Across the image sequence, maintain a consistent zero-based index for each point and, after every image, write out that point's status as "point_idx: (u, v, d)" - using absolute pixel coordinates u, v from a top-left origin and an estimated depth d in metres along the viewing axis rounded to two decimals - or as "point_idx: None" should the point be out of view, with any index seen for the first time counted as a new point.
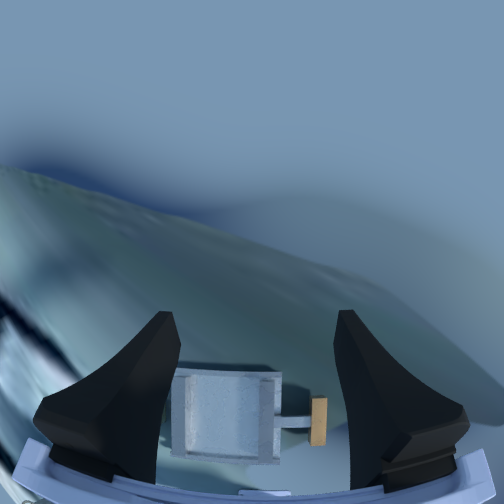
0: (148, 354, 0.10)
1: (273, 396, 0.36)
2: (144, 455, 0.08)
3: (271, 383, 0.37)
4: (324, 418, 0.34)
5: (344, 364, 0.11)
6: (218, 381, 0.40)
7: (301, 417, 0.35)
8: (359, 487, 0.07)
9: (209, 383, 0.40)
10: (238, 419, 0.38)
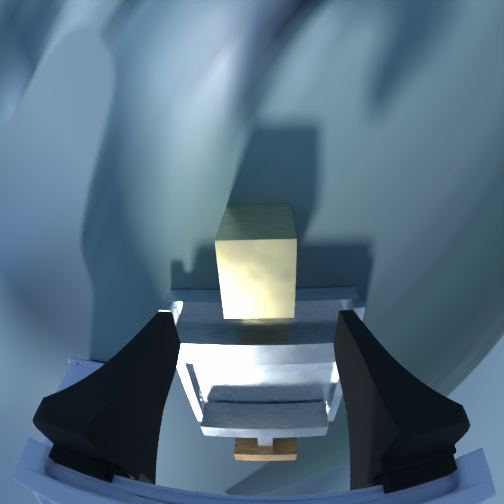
0: (148, 354, 0.10)
1: (305, 436, 0.25)
2: (144, 455, 0.08)
3: (323, 433, 0.24)
4: (270, 459, 0.28)
5: (344, 364, 0.11)
6: (328, 363, 0.24)
7: (271, 443, 0.28)
8: (359, 487, 0.07)
9: None
10: (261, 386, 0.26)
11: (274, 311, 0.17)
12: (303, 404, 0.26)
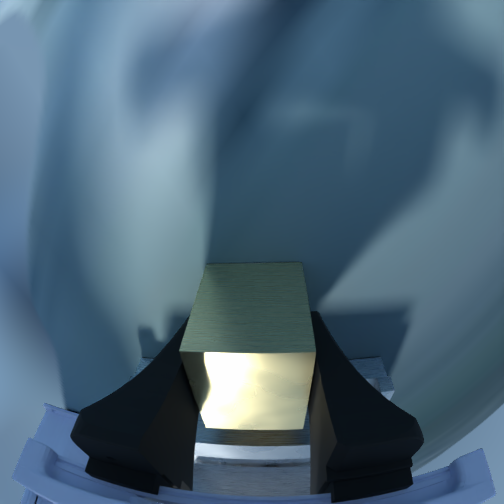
0: None
1: None
2: (185, 462, 0.08)
3: None
4: None
5: None
6: None
7: None
8: (314, 493, 0.07)
9: None
10: None
11: (275, 424, 0.10)
12: (307, 467, 0.20)
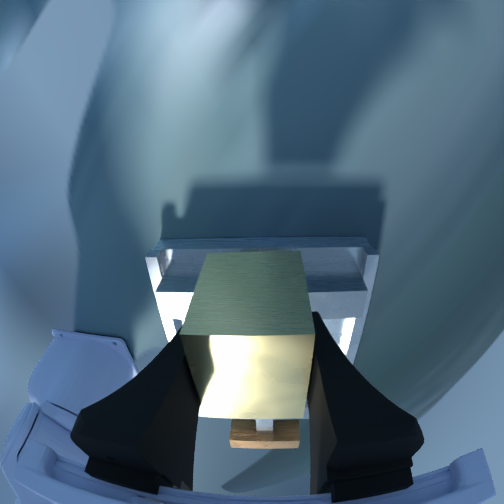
0: None
1: None
2: (185, 462, 0.08)
3: None
4: (270, 447, 0.26)
5: None
6: (336, 329, 0.21)
7: (271, 428, 0.25)
8: (314, 493, 0.07)
9: None
10: None
11: (275, 413, 0.11)
12: None
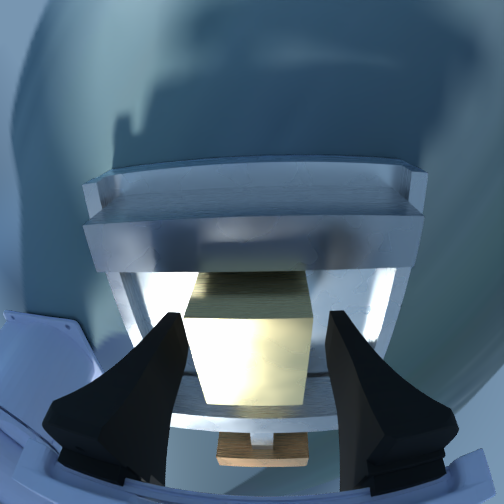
0: (158, 355, 0.10)
1: (324, 429, 0.16)
2: (154, 457, 0.08)
3: None
4: (269, 465, 0.19)
5: (334, 365, 0.11)
6: (364, 300, 0.15)
7: (271, 442, 0.19)
8: (347, 489, 0.07)
9: (361, 280, 0.14)
10: None
11: (275, 399, 0.11)
12: (321, 379, 0.17)
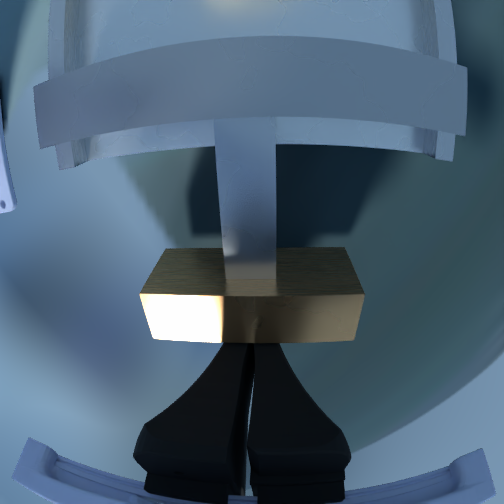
0: (245, 359, 0.10)
1: (403, 120, 0.06)
2: (243, 467, 0.08)
3: (459, 120, 0.06)
4: (268, 337, 0.10)
5: None
6: None
7: (272, 242, 0.09)
8: None
9: None
10: None
11: None
12: None
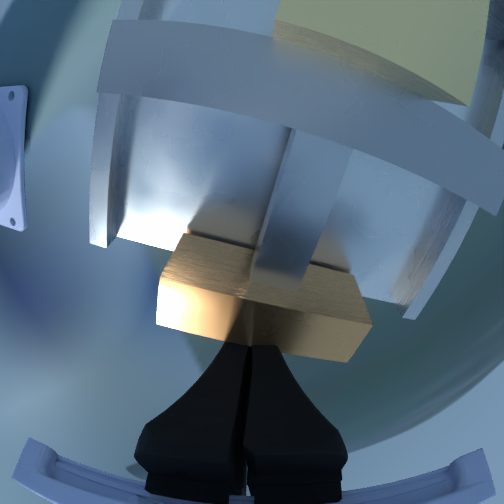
0: (246, 359, 0.10)
1: (458, 189, 0.07)
2: (244, 467, 0.08)
3: (497, 202, 0.07)
4: None
5: None
6: (464, 113, 0.08)
7: (306, 258, 0.09)
8: None
9: None
10: None
11: (432, 58, 0.04)
12: None
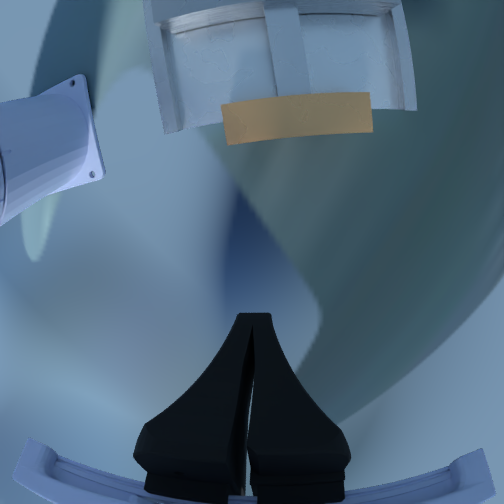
0: (245, 359, 0.10)
1: None
2: (243, 467, 0.08)
3: None
4: (313, 129, 0.13)
5: None
6: None
7: (305, 69, 0.12)
8: None
9: None
10: None
11: None
12: None
